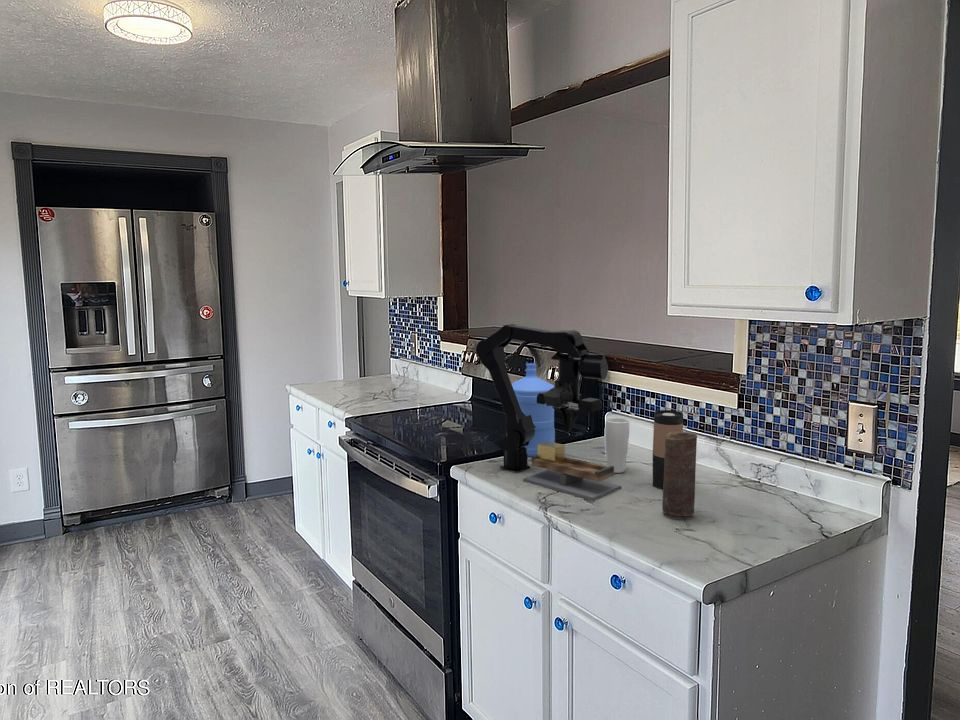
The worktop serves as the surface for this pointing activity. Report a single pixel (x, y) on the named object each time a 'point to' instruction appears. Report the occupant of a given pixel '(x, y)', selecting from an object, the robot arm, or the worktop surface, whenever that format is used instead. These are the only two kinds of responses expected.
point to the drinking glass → (617, 443)
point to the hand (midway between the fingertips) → (568, 431)
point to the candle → (679, 474)
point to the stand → (572, 484)
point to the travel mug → (663, 440)
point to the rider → (551, 452)
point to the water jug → (535, 407)
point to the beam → (577, 468)
